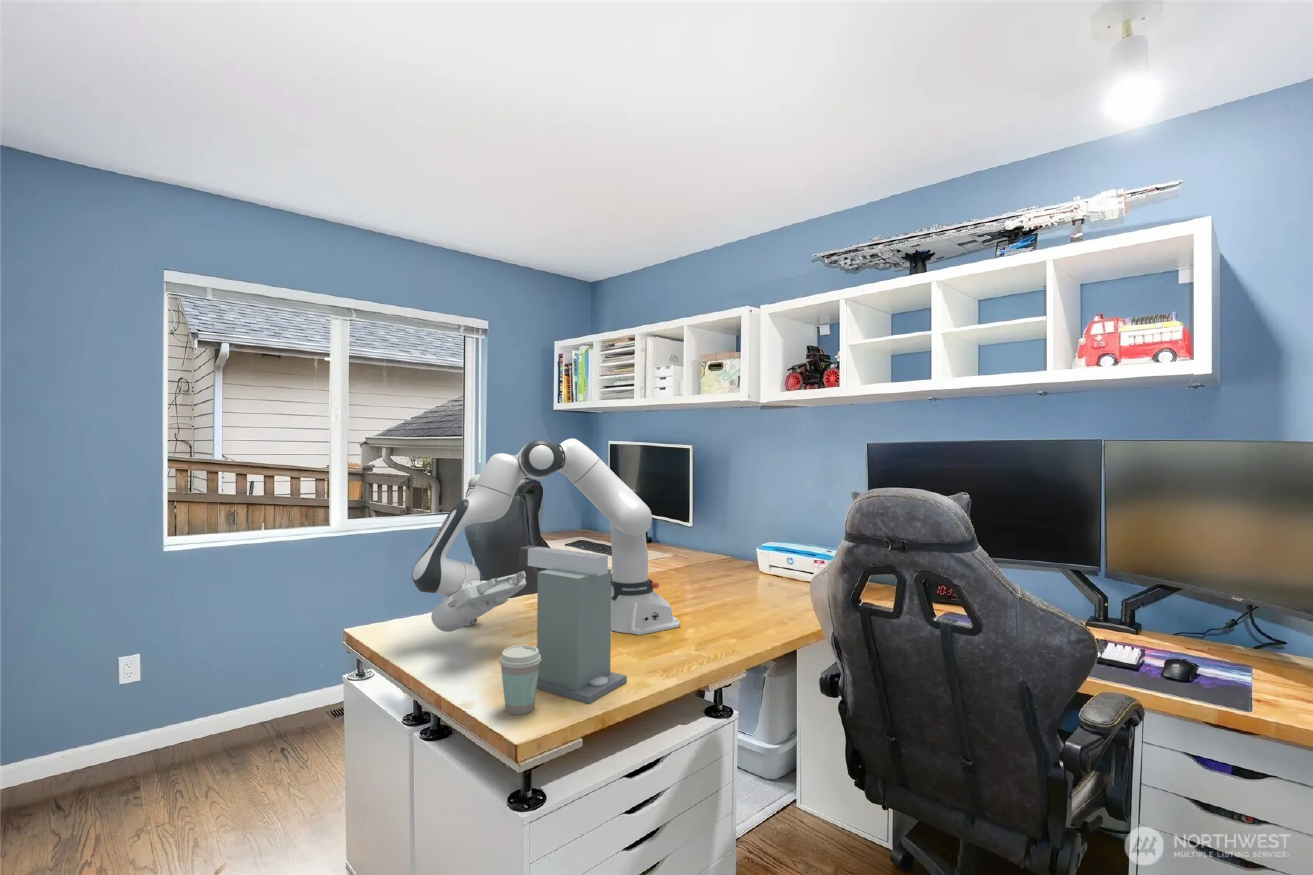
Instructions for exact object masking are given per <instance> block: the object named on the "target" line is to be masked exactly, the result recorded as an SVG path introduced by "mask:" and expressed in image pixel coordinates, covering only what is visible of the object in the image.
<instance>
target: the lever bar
mask: <svg viewBox="0 0 1313 875" xmlns="http://www.w3.org/2000/svg"><path fill="white" fill-rule="evenodd" d="M608 562H609V556H608V555H607V554H606V555H605V554H598V553H590V552H581V551H576V550H568V549H561V548H560V549H559V548H553V547H544V546H537V545H527V546H522V547H519V548H518V565H520V566H527V567H534V568H540V569H541V568H542V569H545V570H548V569H552V570H559V571H565V572H572V573H578V574H585V575H591V576H600V575H603V574H607V573H608V569H609V568H608V567H609V566H608V565H609V563H608Z"/></svg>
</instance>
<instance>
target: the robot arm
mask: <svg viewBox="0 0 1313 875" xmlns="http://www.w3.org/2000/svg"><path fill="white" fill-rule="evenodd" d="M555 472H558V473H559V474H560V473H561V475H564V476H565V477H566V478H567V479H568V480H569V481H570V482H571V483H572V484H573V485H574V486H575V487H576V488H577V489H578V490H579V491H580V492H581V493H582V494H583V495H584V496H585V498H587V499H588V500H589V502H591V503H592V505H594V507H595V508H596V509H597V510H599V512H600V513H601V514H603V516H604V517H605V519H607V520H608V521H609V523H610V524H609V526H610V543H611V544H610V546H611V631H613V632H618V633H624V634H625V633H627V634H633V635H638V636H642V635H646V634H652V633H657V632H661V631H667V630H671V629H677V628H680V626H681V623H680V620H679V618H677V617H676V616H673V609H672V606H671V605H670V603H669V601H668V600H666V599H665V598H664V597H662V596H661V595H660V594H658V592H656V591H655V590H654V589H659V587H660V582H658V581H656V580H652V579H650V578H649V551H648V545H647V535H646V533H647V532H648V531H649V530H650V528H651V526H652V523H653V515H652V511H651V508H650V507H649V506H648V504H646V502H644V501H643V500H642V499H641V497H639V496H638V495H637V494H636V493H635V492H634V491H633V489H631V488H630V487H629V486H628V485H627V484H626V483H625V482H624V481H623V480H622V479H621V478H619V477H618V475H617V474H615V472H614V471H613V470H611V467H609V466H608V465H607V463H605V462H604V461H603V460H602V459H601V458H600V457H599V455H597V454H596V453H595V452H594V451H593V450H591V449H590V447H588V446H587V445H585V444H584V443H583V442H581V441H580V440H578V439H576V438H567V439H566V440H564V441H563V440H562V442H561V443H559V444H558V443H556V442H552V441H548V440H544V439H535V440H532V441H530V442H528V443H527V444H526V445H523V447H522V448H521V450H520V451H519V452H518V453H516V454H515V455H511V454H509V453H502V452H501V453H495V454H493V455H492V456H490V458H489V460H488V461H487V462H486V464H485V465H484V467H483V469H482V471H481V472H480V475H479V476H478V479H477V482H476V484H475V486H474V488H473V490H472V491H471V493H470V494H469V495H468V496H467V497H466V498H463V499H460V500H459V501H457V502H456V503H455V505H454V506H453V507H452V508H451V509H450V511H449V513H448V515H447V516H446V517H445V519H444V520H443V523H442V524H441V526H440V527H439V529H438V530H437V533H436V534H435V536H434V537H433V539H432V540H431V542H430V544H429V546H428V548H427V549H426V550H425V551H424V553H423V554H422V555H421V556H420V558H419V559H417V562H416V563H415V564H414V567H413V569H412V573H411V579H412V581H413V582H412V583H413V584H414V586H415V588H416V589H417V590H418V591H419V592H421V593H422V592H423V593H427V594H437V595H442V596H443V597H442V600H441V602H440V603H439V604H438V605H437V606H436V607H435V608H434V609H433V610H432V612H431V617H430V618H431V622H432V624H433V625H434V627H435V628H437V629H438V630H439V631H442V632H445V633H448V632H449V633H450V632H454V631H456V630H457V631H458V630H460V629H461V628H463V627H466V626H465V625H467V624H468V623H470V622H471V621H472V620H473V619H476V618H477V619H478V618H479V617H481V616H484V615H485V614H486V613H488V612H490V611H492V609H494V608H496V607H499V606H500V605H503V604H505V603H507V602H508V601H509V598H510V597H513V596H514V595H515V594H517V593H518V592H519V591H521V590H522V589H524V588H525V587H526V586H527V580H526V577H527V575H526V572H525V571H524V570H523V571H519V572H517V573H513V574H510V575H505V576H502V577H498V578H496V577H494V578H491V579H489V580H483V576H482V572H481V570H480V568H479V567H478V566H477V565H475V564H471V563H468V562H465V561H462V560H457V559H453V558H449V557H447V554H448V552H449V551H450V549H451V547H452V545H453V544H454V542H455V540H456V538H457V537H458V536H459V534H460V532H461V530H463V529H464V528H465V527H467V526H470V525H474V524H479V523H481V524H482V523H490V522H494V521H497V520H499V519H501V518H503V517H504V515H506V514H507V512H508V510H509V509H510V507H511V504H512V502H513V499H514V496H515V494H516V491H517V489H518V487H519V484H520V483H521V482H522V481H523V480H531V481H535V480H536V481H537V480H543V479H545V478H547V477H549V476H550V475H552V474H554V473H555Z"/></svg>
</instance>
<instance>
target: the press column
mask: <svg viewBox="0 0 1313 875" xmlns="http://www.w3.org/2000/svg"><path fill="white" fill-rule="evenodd" d="M611 579H612V568H608V573H607V574H603V575H600V576H591V575H585V574H578V573H572V572H565V571H559V570H552V569H545V570H541V571H537V601H536V602H537V605H536V606H537V611H536V612H537V617H536V620H537V622H536V626H537V627H536V634H537V635H536V638H537V639H536V648H538V650H539V654H540V655H541V661H540V662H539V671H538V680H537V688H536V690H537V689H538V690H541V691H544V692H548V693H550V694H554V695H558V696H560V697H564V698H568V699H571V700H575V701H578V702H581V703H584V704H588V705H590V704H592V703H593V702H595V701H597V700H598V698H599V699H600V698H602V697H604V696H605V695H607V694H610V692H612V691H614V690H616V689H617V688H619V687H621V686H623V685H625V684H626V683H627V682H628V676H627V675H625V674H622V673H617V672H615V671H614V672H613V671H611V648H612V647H611V641H612V640H611V639H612V637H611V633H612V630H611Z"/></svg>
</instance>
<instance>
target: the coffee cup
mask: <svg viewBox="0 0 1313 875" xmlns="http://www.w3.org/2000/svg"><path fill="white" fill-rule="evenodd" d="M540 661H541V655H540V654H539V650H538V648H537V646H531V645H525V644H524V645H514V646H510V647H507V648H505V649H504V650H503V651H502V652H501V655H500V658H499V662H498V663H499V665H500V668H501V677H502V679H501V680H502V686H503V698H504V707H505V712H507V714H509V715H515V716H516V715H517V716H522V715H525V714H529V713H532V711H534V709H535V704H536V696H537V680H538V671H539V662H540Z"/></svg>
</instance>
